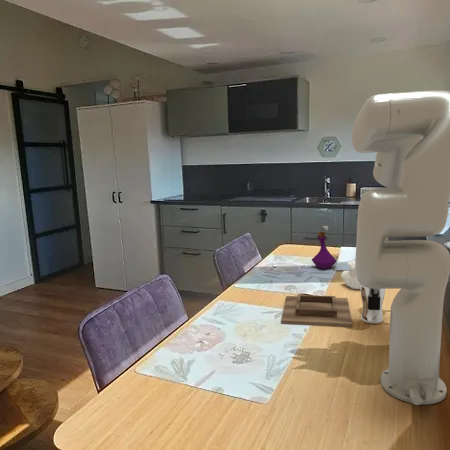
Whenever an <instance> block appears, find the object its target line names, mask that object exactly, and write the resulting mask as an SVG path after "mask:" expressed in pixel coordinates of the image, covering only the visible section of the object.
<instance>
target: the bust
mask: <svg viewBox="0 0 450 450" xmlns="http://www.w3.org/2000/svg"><path fill="white" fill-rule="evenodd" d="M347 265H348V270H343V272H341V273H340V274H341V279H342V280H343V281H344V283H345V285H346V286H347V287H349V288H350V289H353V290H360V283H359V281H358V279H357V276H356V270H355V260H353V261H347Z"/></svg>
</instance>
